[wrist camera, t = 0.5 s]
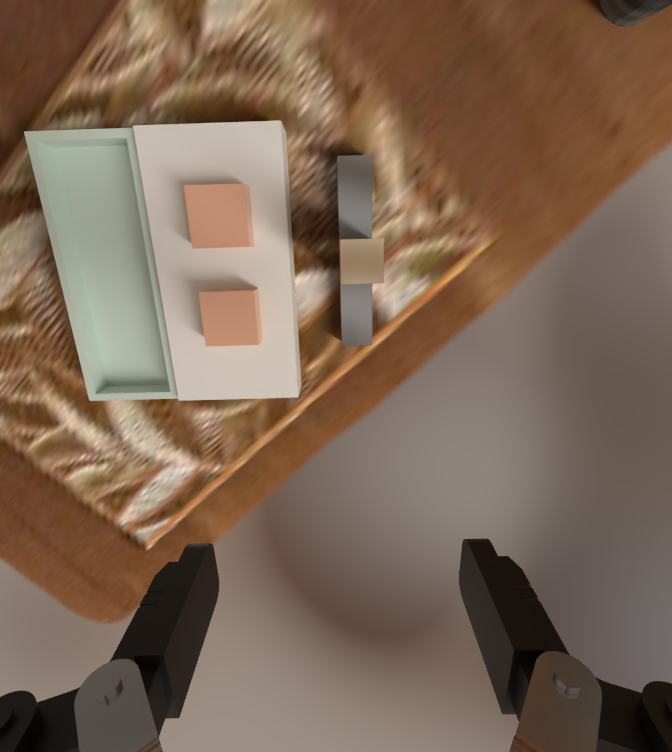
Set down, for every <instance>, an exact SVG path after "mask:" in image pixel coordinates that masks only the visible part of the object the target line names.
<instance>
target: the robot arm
mask: <svg viewBox="0 0 672 752" xmlns="http://www.w3.org/2000/svg"><path fill="white" fill-rule="evenodd" d="M459 585H460V591H461V596H462V599H463V602H464V605H465V608H466V611H467V613H468V616H469V619H470V622H471V625H472V628H473V631H474V634H475V637H476V639H477V642H478V645H479V648H480V651H481V654H482V657H483V660H484V662H485V665H486V668H487V671H488V674H489V677H490V679H491V683H492V686H493V689H494V691H495V694H496V697H497V700H498V703H499V706H500V709H501V712H502V714H516V715H517V718H518V720H519V724H518V728H517V731H516V734H515V737H514V739H513V741H512V745H511V748H510V752H672V684H671V683H667V682H661V681H656V682H655V681H654V682H651V683H649V684H647V685H646V686H645V687H644V689H643V692H642V693H640V692H637V691H633V690H630V689H627V688H623V687H620V686H617V685H613V684H610V683H607V682H604V681H602V680H600V679H598V678H596V677H595V676H594V675H593V673H592V672H591V671H590V670H589V669H588V668H587V667H586V666H585V665H584V664H583V663H582V662H580V661H579V660H578V659H576V658H574V657H572V656H570V654H569V653H568V652H567V650H566V648H565V646H564V644H563V642H562V641H561V639H560V637H559V635H558V633H557V632H556V630H555V628H554V626H553V625H552V622H551V621H550V619H549V617H548V615H547V613H546V612H545V610H544V608H543V606H542V605H541V603H540V601H538V597H537V595H536V594H535V592H534V590H533V588H531V585H530V583H529V581H528V579H527V577H526V576H525V574H524V572H523V570H522V569H521V568H520V567H519V566H518V565H517V564H516V563H515V562H514V561H513V560H511V558H509V557H508V556H497V554H496V551H495V549H494V547H493V545H492V543H491V542H490V540H489V539H464V540H463V543H462V553H461V562H460V571H459ZM218 593H219V577H218V570H217V564H216V559H215V553H214V547H213V545H212V544H188V545H187V546H186V547H185V549H184V551H183V553H182V555H181V557H180V559H179V561H178V562H168V563H167V564H166V565H165V566H164V567H163V568H162V569H161V570H160V571H159V572H158V573H157V574H156V575H155V577H154V579H153V581H152V583H151V585H150V586H149V588H148V590H147V594H145V596H144V598H143V600H142V602H141V604H140V608H138V609H137V611H136V613H135V615H134V617H133V619H132V621H131V623H130V625H129V626H128V628H127V630H126V632H125V634H124V636H123V638H122V640H121V642H120V644H119V645H118V647H117V649H116V651H115V653H114V655H113V657H112V658H111V660H110V662H108V663H106V664H104V665H102V666H101V667H99V668H98V669H97V670H95V671H94V672H93V673H92V674H91V675H90V676H89V677H88V678H87V679H86V680H85V681H84V683H83V684H82V685H81V687H80V688H77V689H75V690H73V691H70V692H67V693H64V694H61V695H58V696H55V697H52V698H49V699H47V700H44V701H40V702H37V701H36V699H35V697H34V696H33V694H32V693H30V692H27V691H15V692H11V693H8V694H6V695H4V696H1V697H0V752H163V751H162V748H161V744H160V741H159V735H160V732H161V729H162V726H163V723H164V720H165V718H179V717H180V714H181V711H182V708H183V705H184V701H185V698H186V695H187V692H188V689H189V686H190V683H191V680H192V677H193V673H194V670H195V667H196V664H197V661H198V658H199V655H200V651H201V649H202V646H203V642H204V639H205V636H206V633H207V630H208V627H209V624H210V621H211V618H212V614H213V611H214V608H215V605H216V602H217V598H218Z"/></svg>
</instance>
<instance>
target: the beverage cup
mask: <svg viewBox="0 0 672 752" xmlns="http://www.w3.org/2000/svg"><path fill="white" fill-rule="evenodd" d="M600 5H601V9H602V11H603V13H604V14H605V16H606V18H608V19H609V20H610V21H611V22H612V23H614V24H617V25H621V26H630V25H635V24H637V23H639V22H641V21H643V20H645V19H646V18H647V17H649V16H652V15H654V14H656V13H658V12H660V11H662V10H664V9H666V8H667V7H669V6H671V5H672V0H600Z"/></svg>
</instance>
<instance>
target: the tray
mask: <svg viewBox="0 0 672 752" xmlns="http://www.w3.org/2000/svg"><path fill="white" fill-rule="evenodd" d="M24 134H25V138H26V142H27V146H28V150H29V154H30V159H31V163H32V167H33V171H34V175H35V179H36V183H37V187H38V191H39V196H40V200H41V204H42V208H43V212H44V216H45V220H46V224H47V228H48V232H49V237H50V241H51V245H52V249H53V253H54V257H55V261H56V265H57V269H58V274H59V278H60V282H61V286H62V290H63V294H64V298H65V302H66V306H67V310H68V315H69V319H70V323H71V327H72V331H73V335H74V339H75V343H76V347H77V352H78V356H79V360H80V364H81V368H82V372H83V376H84V380H85V384H86V389H87V393H88V397H89V401H99V400H136V399H174V398H178V393H177V387H176V381H175V375H174V369H173V363H172V357H171V351H170V345H169V339H168V333H167V327H166V321H165V315H164V309H163V303H162V297H161V291H160V285H159V279H158V273H157V267H156V261H155V255H154V249H153V243H152V237H151V231H150V225H149V219H148V213H147V207H146V201H145V195H144V189H143V183H142V177H141V171H140V165H139V159H138V153H137V147H136V141H135V135H134V129H133V128H110V129H80V130H50V131H24Z"/></svg>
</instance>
